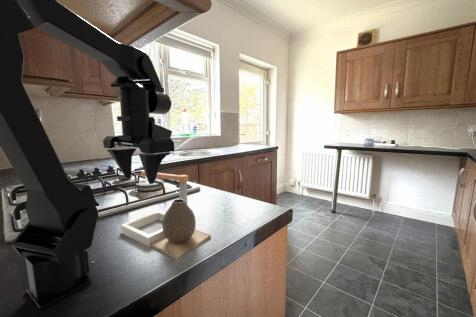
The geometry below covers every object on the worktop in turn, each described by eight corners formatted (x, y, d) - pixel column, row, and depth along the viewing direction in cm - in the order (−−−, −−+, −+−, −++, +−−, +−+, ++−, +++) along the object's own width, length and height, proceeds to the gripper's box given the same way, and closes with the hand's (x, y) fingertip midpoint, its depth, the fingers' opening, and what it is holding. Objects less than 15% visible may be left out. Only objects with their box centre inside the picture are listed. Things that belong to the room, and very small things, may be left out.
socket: (148, 246, 45) (146, 200, 44) (121, 232, 51) (118, 191, 50) (200, 220, 59) (199, 183, 57) (173, 211, 64) (172, 177, 63)
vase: (196, 246, 45) (195, 205, 43) (161, 249, 43) (159, 208, 42) (195, 230, 52) (195, 194, 50) (165, 232, 50) (163, 196, 49)
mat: (176, 259, 41) (176, 256, 41) (144, 243, 47) (144, 241, 47) (210, 237, 50) (210, 234, 50) (180, 226, 55) (180, 223, 55)
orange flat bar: (139, 176, 63) (138, 172, 63) (146, 174, 66) (146, 170, 66) (184, 182, 57) (183, 177, 57) (190, 180, 60) (190, 175, 60)
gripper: (192, 113, 50) (193, 179, 52) (143, 114, 60) (146, 170, 62) (149, 109, 40) (153, 190, 43) (99, 112, 50) (105, 177, 53)
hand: (139, 180), depth 50 cm, fingers open, 9 cm apart
